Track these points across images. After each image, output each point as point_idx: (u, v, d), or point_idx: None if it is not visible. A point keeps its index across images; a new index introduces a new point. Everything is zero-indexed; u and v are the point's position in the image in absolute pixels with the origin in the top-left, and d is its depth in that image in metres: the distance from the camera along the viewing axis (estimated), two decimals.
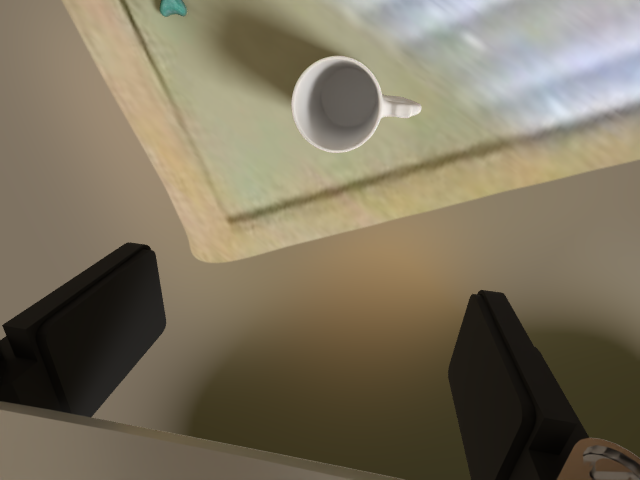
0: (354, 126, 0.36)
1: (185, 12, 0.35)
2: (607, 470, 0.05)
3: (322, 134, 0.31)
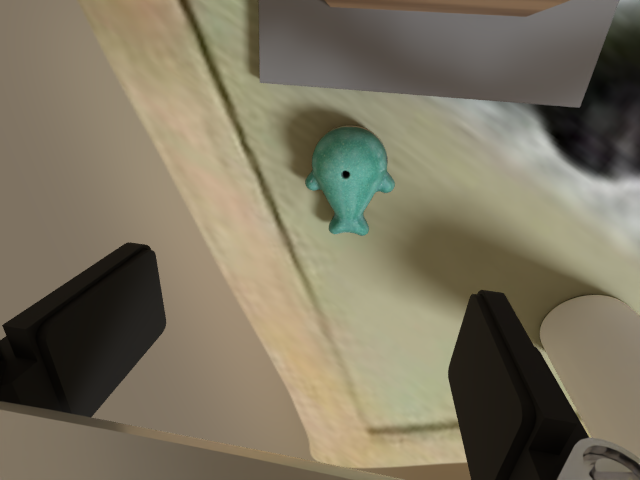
0: None
1: (367, 232, 0.24)
2: (607, 470, 0.05)
3: None
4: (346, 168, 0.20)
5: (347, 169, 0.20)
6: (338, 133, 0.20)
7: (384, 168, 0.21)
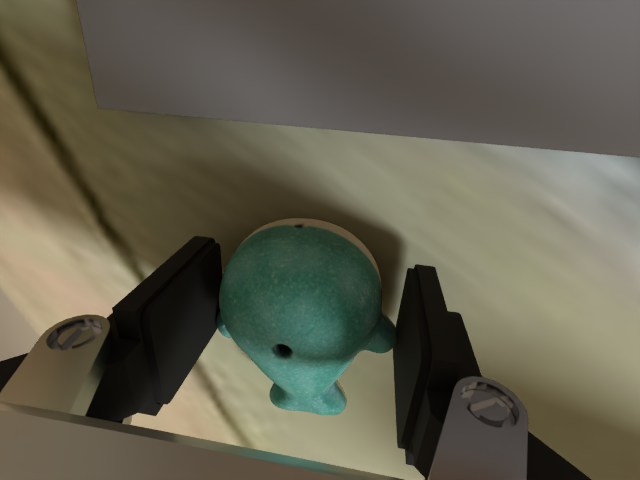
0: None
1: (343, 409, 0.12)
2: (479, 401, 0.06)
3: None
4: (283, 341, 0.08)
5: (285, 343, 0.08)
6: (267, 249, 0.09)
7: (375, 321, 0.09)
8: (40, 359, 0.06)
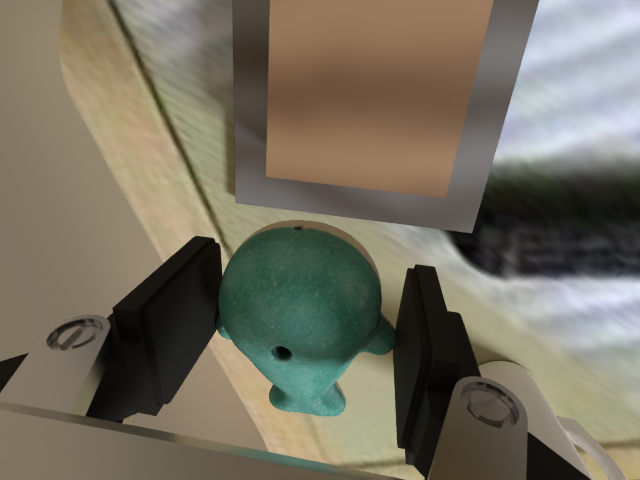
0: None
1: None
2: (479, 401, 0.06)
3: None
4: (282, 343, 0.08)
5: (284, 345, 0.08)
6: (266, 251, 0.09)
7: (374, 323, 0.09)
8: (40, 359, 0.06)
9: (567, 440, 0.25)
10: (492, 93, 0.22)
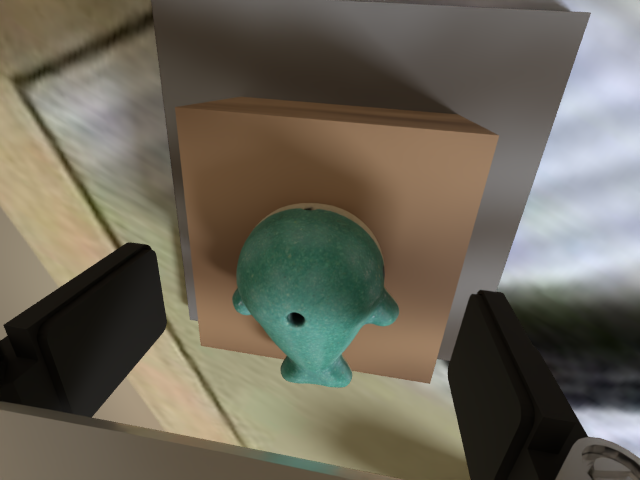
0: None
1: (349, 382, 0.13)
2: (606, 469, 0.05)
3: None
4: (296, 309, 0.09)
5: (298, 311, 0.09)
6: (281, 228, 0.10)
7: (379, 294, 0.10)
8: None
9: None
10: (495, 217, 0.17)
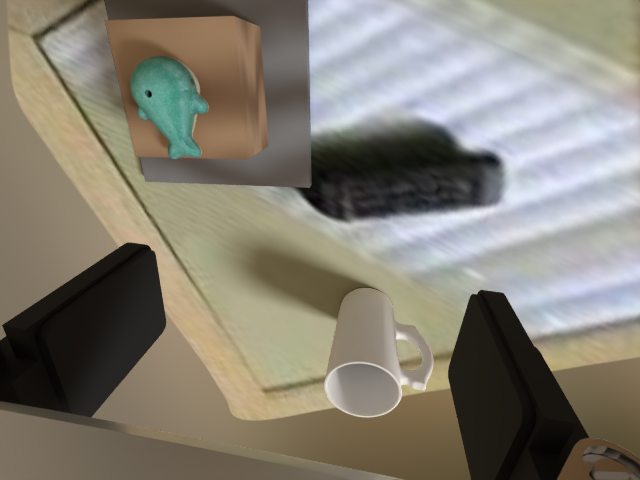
0: None
1: (199, 153, 0.28)
2: (607, 470, 0.05)
3: (348, 376, 0.36)
4: (146, 87, 0.24)
5: (147, 88, 0.24)
6: (142, 61, 0.24)
7: (187, 88, 0.25)
8: None
9: (383, 331, 0.34)
10: (294, 85, 0.31)
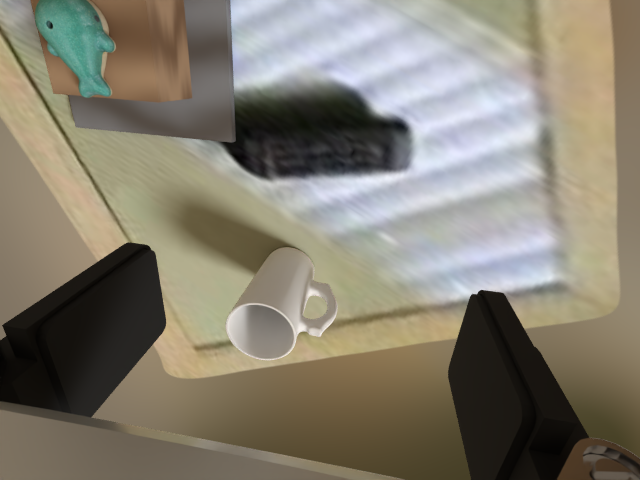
0: None
1: (109, 92, 0.29)
2: (607, 470, 0.05)
3: (259, 326, 0.38)
4: (47, 18, 0.25)
5: (48, 19, 0.25)
6: None
7: (90, 23, 0.26)
8: None
9: (291, 282, 0.36)
10: (215, 38, 0.33)
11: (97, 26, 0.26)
